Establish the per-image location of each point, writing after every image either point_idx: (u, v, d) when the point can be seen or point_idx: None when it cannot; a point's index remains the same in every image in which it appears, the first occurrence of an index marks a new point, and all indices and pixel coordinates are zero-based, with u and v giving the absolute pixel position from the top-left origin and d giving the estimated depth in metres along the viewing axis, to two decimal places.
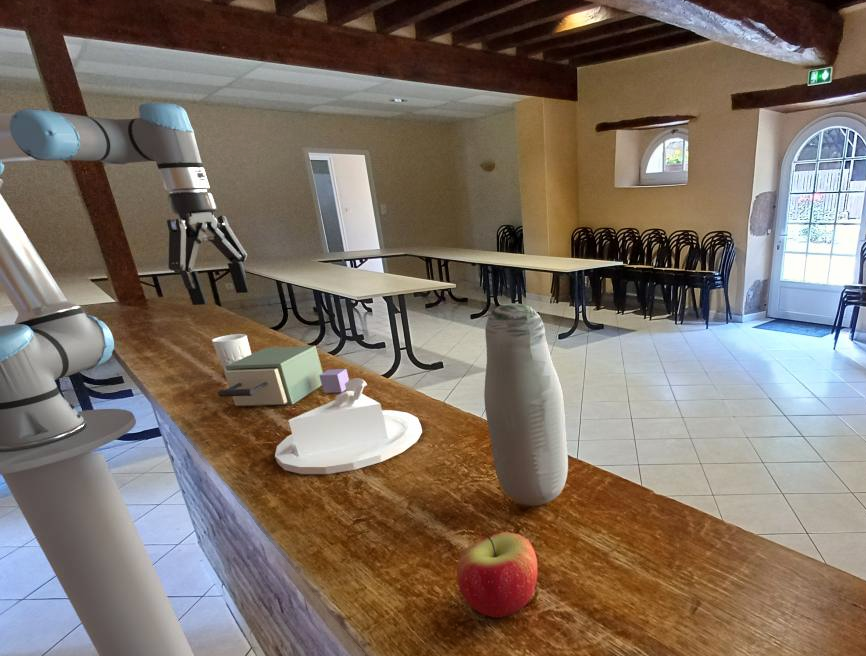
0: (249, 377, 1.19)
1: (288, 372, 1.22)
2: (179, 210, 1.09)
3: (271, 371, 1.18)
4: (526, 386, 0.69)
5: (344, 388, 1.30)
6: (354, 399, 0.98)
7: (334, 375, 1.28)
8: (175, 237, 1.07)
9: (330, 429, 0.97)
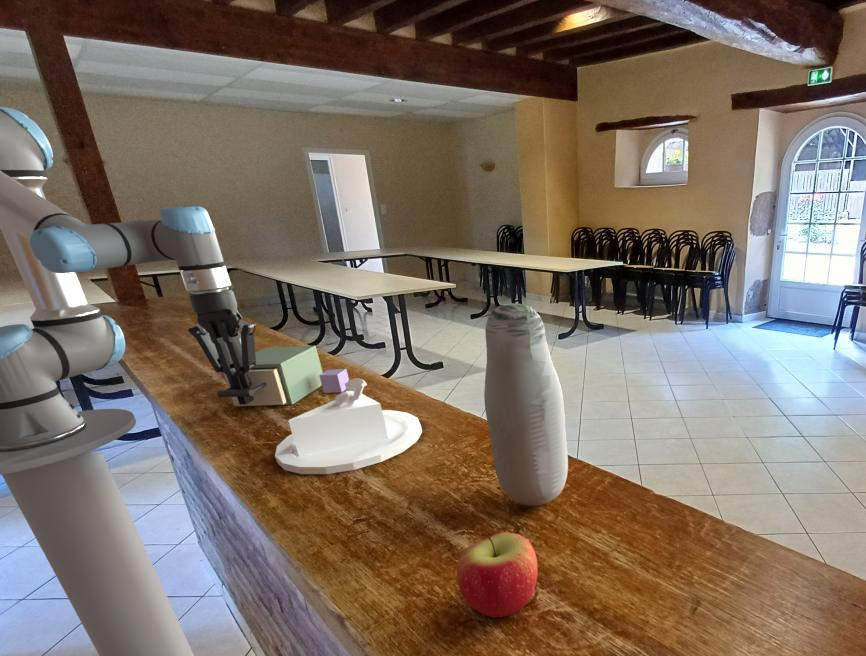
0: None
1: (288, 372, 1.22)
2: None
3: (270, 371, 1.18)
4: (526, 386, 0.69)
5: (344, 388, 1.30)
6: (354, 399, 0.98)
7: (334, 375, 1.28)
8: None
9: (330, 429, 0.97)
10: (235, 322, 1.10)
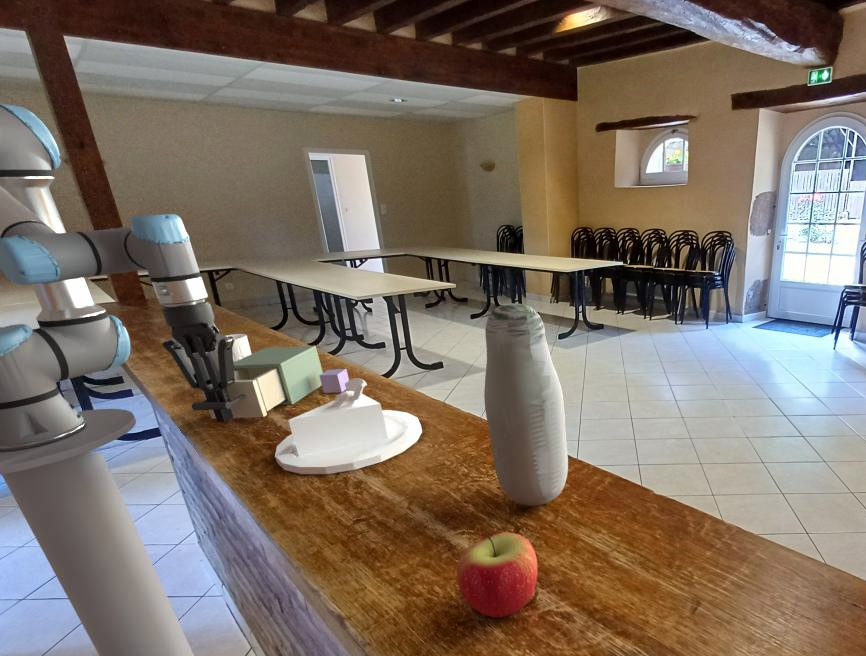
0: None
1: (288, 372, 1.22)
2: None
3: (249, 382, 1.12)
4: (526, 386, 0.69)
5: (344, 388, 1.30)
6: (354, 399, 0.98)
7: (334, 375, 1.28)
8: None
9: (330, 429, 0.97)
10: (212, 336, 1.04)
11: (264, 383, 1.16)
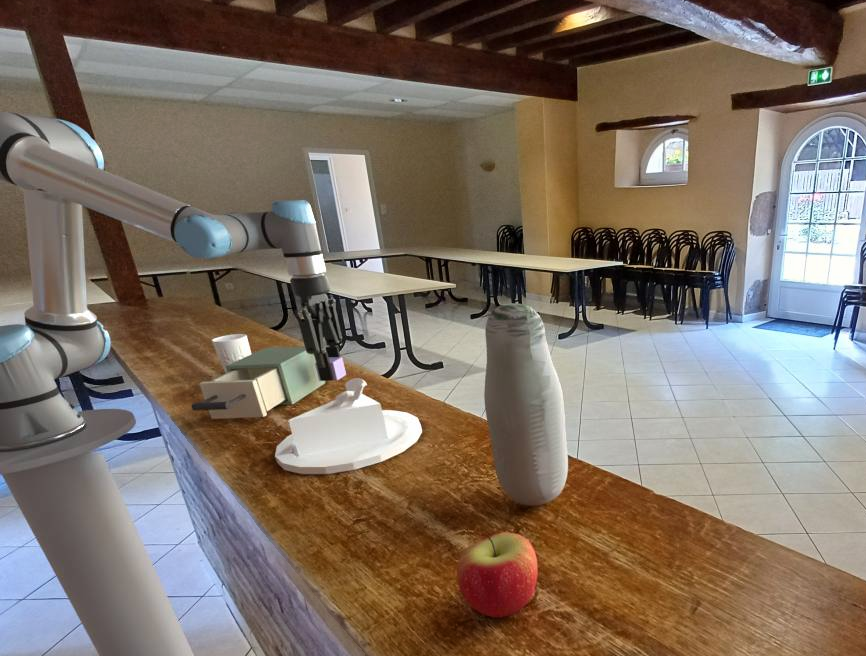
0: (226, 388, 1.12)
1: (288, 372, 1.22)
2: None
3: (249, 383, 1.12)
4: (526, 386, 0.69)
5: (340, 376, 1.29)
6: (354, 399, 0.98)
7: (330, 363, 1.27)
8: None
9: (330, 429, 0.97)
10: None
11: (264, 383, 1.16)
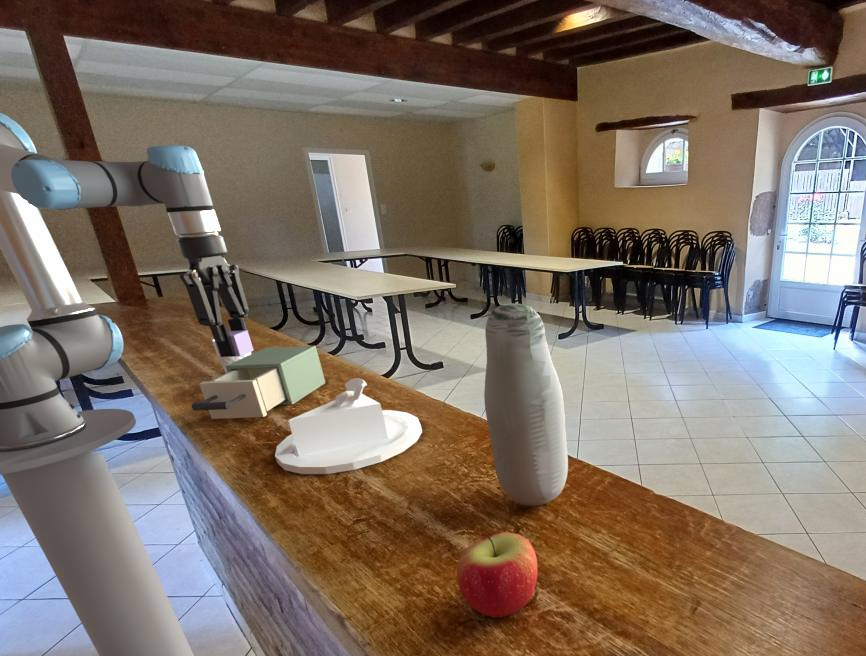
0: (226, 388, 1.12)
1: (288, 372, 1.22)
2: None
3: (249, 383, 1.12)
4: (526, 386, 0.69)
5: (244, 352, 1.14)
6: (354, 399, 0.98)
7: (230, 336, 1.11)
8: None
9: (330, 429, 0.97)
10: None
11: (264, 383, 1.16)
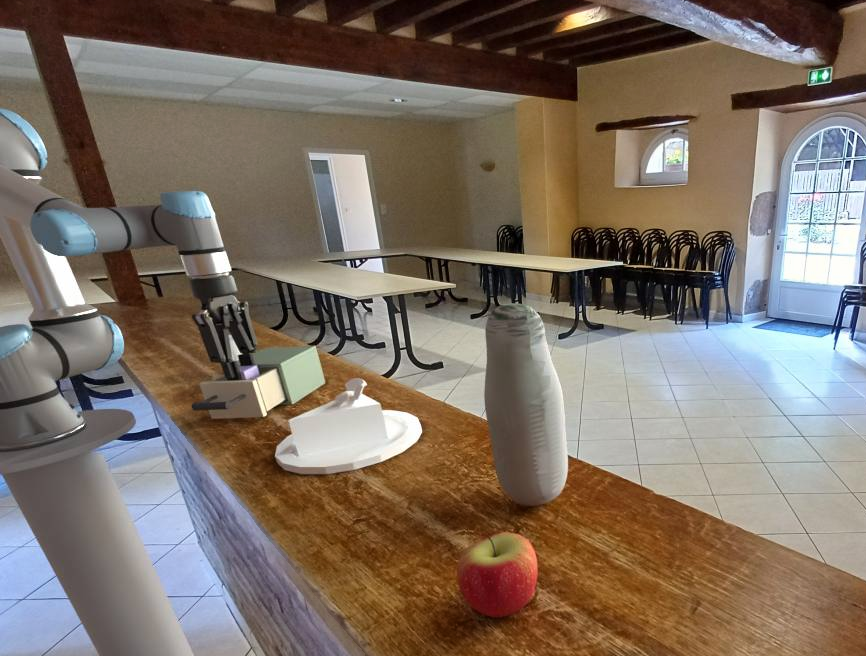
0: (226, 388, 1.12)
1: (288, 372, 1.22)
2: None
3: (249, 383, 1.12)
4: (526, 386, 0.69)
5: None
6: (354, 399, 0.98)
7: (240, 372, 1.14)
8: None
9: (330, 429, 0.97)
10: None
11: (264, 383, 1.16)
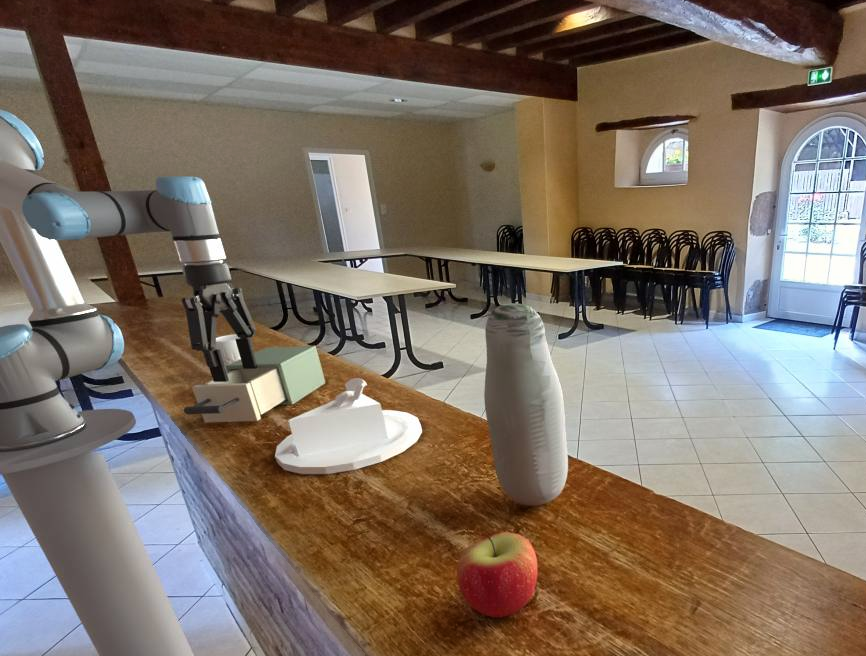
0: (219, 392, 1.10)
1: (288, 372, 1.22)
2: None
3: (242, 386, 1.10)
4: (526, 386, 0.69)
5: None
6: (354, 399, 0.98)
7: None
8: None
9: (330, 429, 0.97)
10: None
11: (258, 386, 1.14)
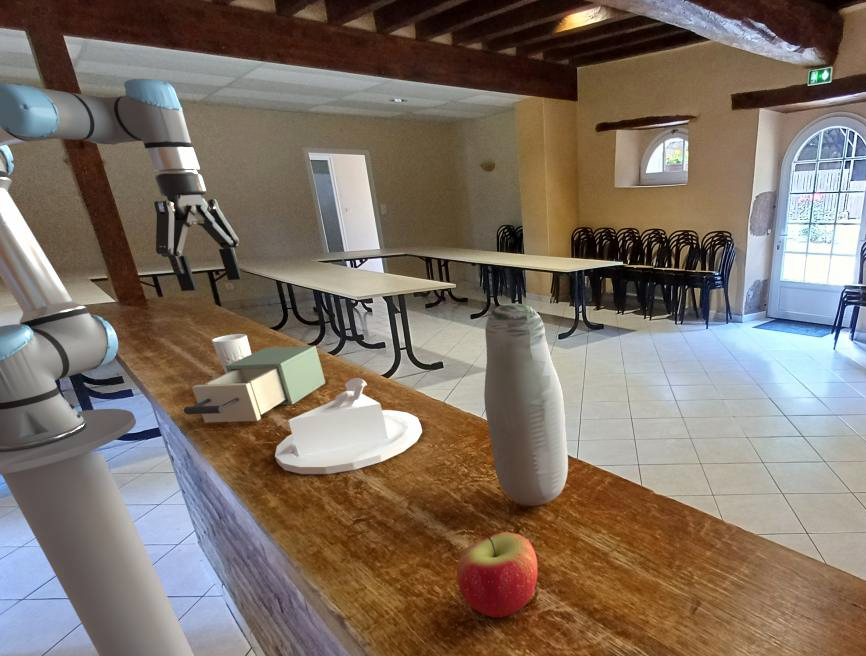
0: (219, 392, 1.10)
1: (288, 372, 1.22)
2: None
3: (242, 386, 1.10)
4: (526, 386, 0.69)
5: None
6: (354, 399, 0.98)
7: None
8: None
9: (330, 429, 0.97)
10: None
11: (258, 386, 1.14)
